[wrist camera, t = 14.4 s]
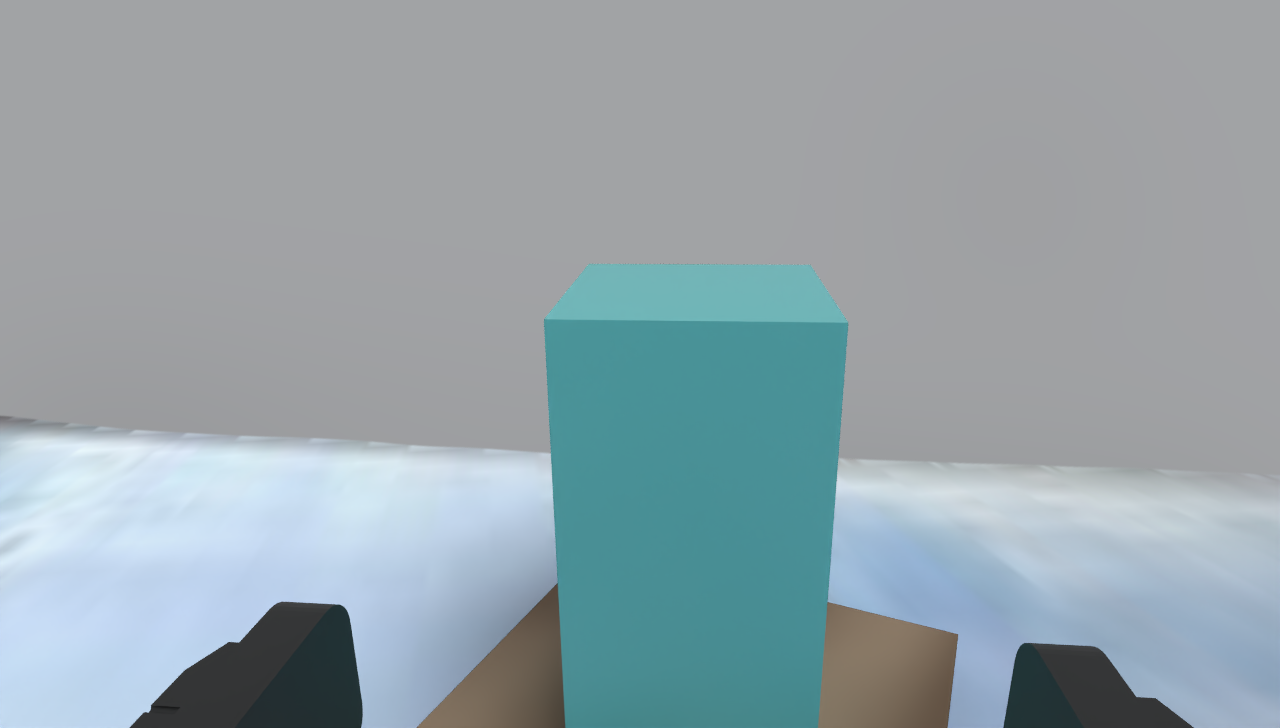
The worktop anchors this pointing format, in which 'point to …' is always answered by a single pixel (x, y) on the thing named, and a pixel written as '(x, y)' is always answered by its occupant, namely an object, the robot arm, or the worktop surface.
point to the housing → (694, 492)
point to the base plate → (850, 689)
